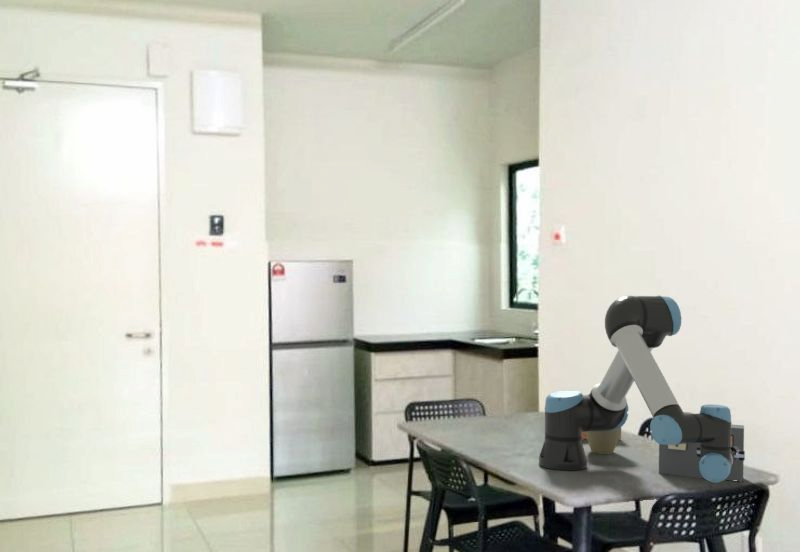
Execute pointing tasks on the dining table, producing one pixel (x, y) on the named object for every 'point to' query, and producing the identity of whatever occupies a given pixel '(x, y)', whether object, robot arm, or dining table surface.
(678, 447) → the button one
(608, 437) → the plant pot
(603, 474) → the dining table surface
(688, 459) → the button panel
